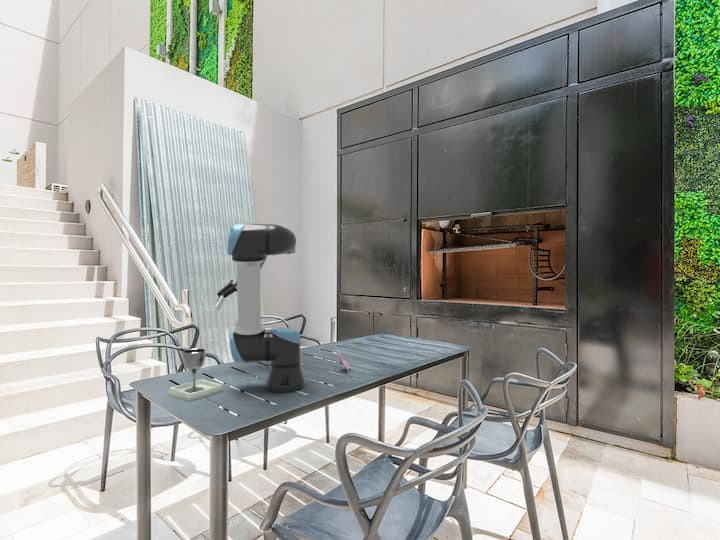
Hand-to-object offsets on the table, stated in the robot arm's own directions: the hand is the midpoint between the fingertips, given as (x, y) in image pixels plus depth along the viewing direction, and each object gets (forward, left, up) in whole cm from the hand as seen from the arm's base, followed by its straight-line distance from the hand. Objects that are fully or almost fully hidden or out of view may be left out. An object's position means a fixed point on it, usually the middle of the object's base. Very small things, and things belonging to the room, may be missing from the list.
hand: (230, 309), depth 169 cm
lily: (-33, -36, -30) cm, 58 cm away
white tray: (-7, +21, -30) cm, 37 cm away
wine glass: (-6, +21, -29) cm, 36 cm away
